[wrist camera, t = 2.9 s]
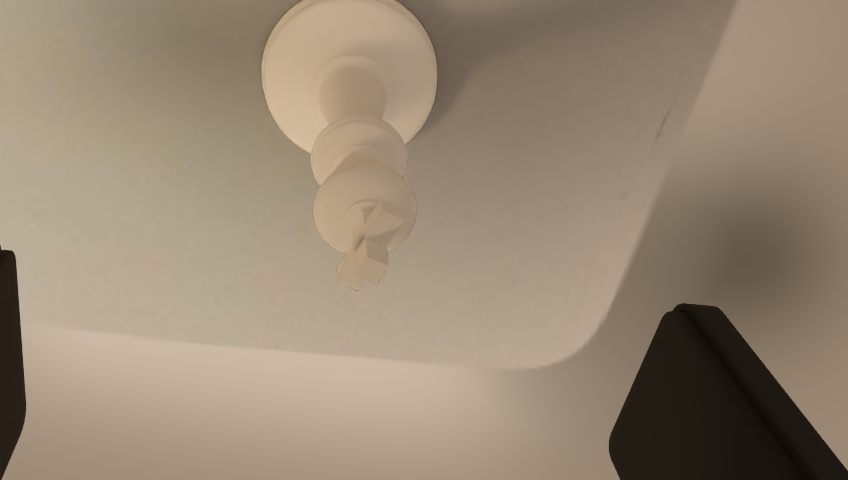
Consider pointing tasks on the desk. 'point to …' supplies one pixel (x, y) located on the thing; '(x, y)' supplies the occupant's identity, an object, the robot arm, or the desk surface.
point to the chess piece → (353, 118)
